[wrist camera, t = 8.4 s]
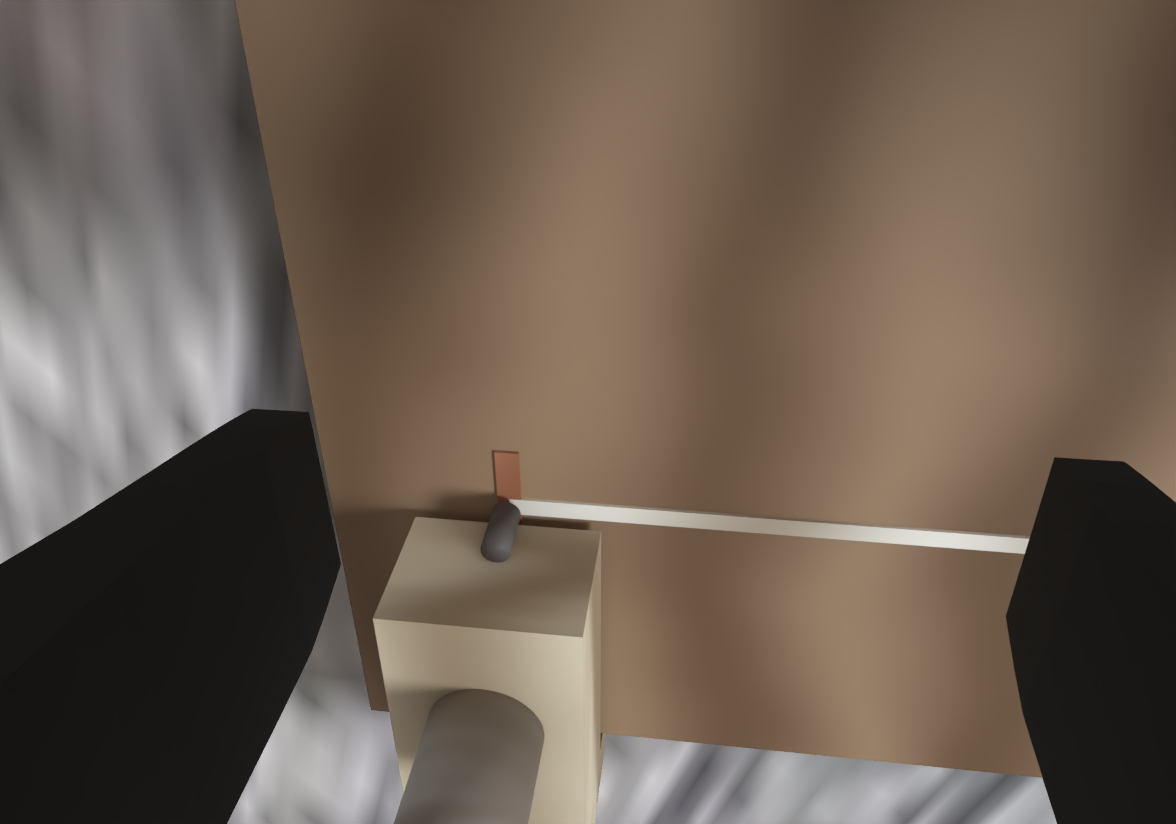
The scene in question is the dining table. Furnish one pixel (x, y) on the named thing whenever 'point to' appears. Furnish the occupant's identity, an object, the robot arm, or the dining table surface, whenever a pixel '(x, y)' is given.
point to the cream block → (494, 671)
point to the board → (736, 323)
